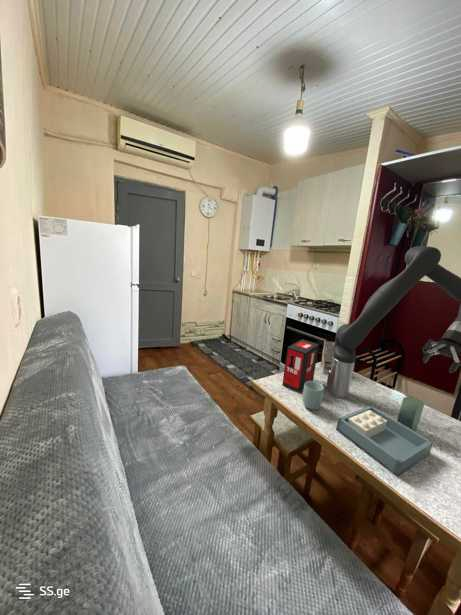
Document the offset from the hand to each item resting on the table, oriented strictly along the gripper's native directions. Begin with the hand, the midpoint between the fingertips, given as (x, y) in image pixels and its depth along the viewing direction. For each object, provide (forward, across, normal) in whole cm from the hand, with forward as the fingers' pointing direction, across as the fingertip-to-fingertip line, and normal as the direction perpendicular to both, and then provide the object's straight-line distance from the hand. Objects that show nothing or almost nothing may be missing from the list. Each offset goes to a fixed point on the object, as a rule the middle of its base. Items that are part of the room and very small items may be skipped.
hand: (436, 366), depth 98 cm
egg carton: (+37, -6, -2) cm, 38 cm away
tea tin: (+26, 0, +9) cm, 27 cm away
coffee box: (+18, -47, +17) cm, 53 cm away
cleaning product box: (+36, -43, -2) cm, 56 cm away
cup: (+43, -26, -8) cm, 51 cm away
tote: (+37, -1, -2) cm, 37 cm away
